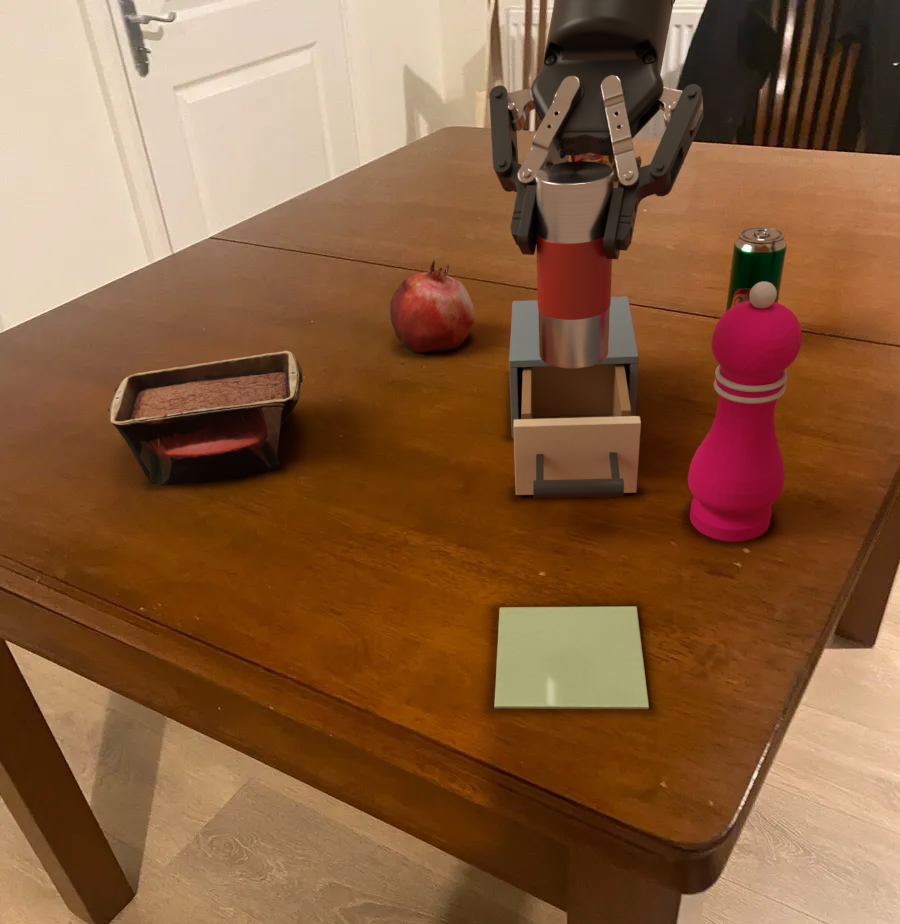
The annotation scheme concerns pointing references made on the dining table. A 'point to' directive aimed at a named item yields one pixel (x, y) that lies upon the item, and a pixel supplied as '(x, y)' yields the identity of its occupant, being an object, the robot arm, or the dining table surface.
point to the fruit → (431, 311)
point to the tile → (570, 658)
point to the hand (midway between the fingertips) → (567, 250)
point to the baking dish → (208, 417)
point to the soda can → (756, 262)
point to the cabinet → (527, 355)
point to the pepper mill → (744, 419)
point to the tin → (573, 263)
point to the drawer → (576, 433)
